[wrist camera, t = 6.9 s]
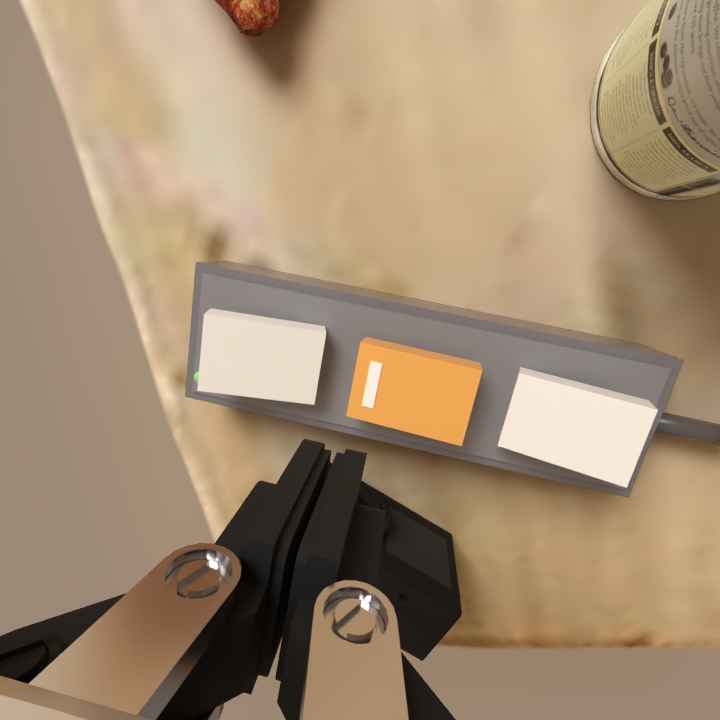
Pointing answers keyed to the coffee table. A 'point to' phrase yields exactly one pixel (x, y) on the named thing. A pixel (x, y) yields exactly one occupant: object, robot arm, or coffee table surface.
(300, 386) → the block
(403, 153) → the coffee table surface
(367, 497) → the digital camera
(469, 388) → the amber rocker
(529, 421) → the white rocker
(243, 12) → the croissant
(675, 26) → the coffee can
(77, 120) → the coffee table surface
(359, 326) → the power strip
